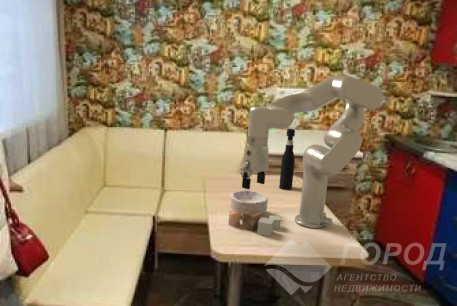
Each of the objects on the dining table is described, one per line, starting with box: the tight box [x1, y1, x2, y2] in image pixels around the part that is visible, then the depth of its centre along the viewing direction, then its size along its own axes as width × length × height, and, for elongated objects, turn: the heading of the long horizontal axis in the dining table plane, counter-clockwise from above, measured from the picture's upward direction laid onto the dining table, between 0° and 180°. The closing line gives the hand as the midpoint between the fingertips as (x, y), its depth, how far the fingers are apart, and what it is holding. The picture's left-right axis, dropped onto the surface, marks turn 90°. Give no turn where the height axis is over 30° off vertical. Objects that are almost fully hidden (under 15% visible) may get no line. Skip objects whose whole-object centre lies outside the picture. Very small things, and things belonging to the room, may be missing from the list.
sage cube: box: [268, 215, 281, 230], centre depth 162 cm, size 4×4×4 cm
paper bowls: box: [229, 189, 269, 218], centre depth 173 cm, size 15×15×8 cm
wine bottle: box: [278, 128, 296, 191], centre depth 209 cm, size 6×6×30 cm
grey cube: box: [256, 216, 275, 237], centre depth 156 cm, size 5×5×5 cm
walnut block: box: [241, 210, 262, 232], centre depth 160 cm, size 5×5×6 cm
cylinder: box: [228, 209, 241, 228], centre depth 162 cm, size 4×4×5 cm
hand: (253, 185), depth 157 cm, fingers open, 9 cm apart
